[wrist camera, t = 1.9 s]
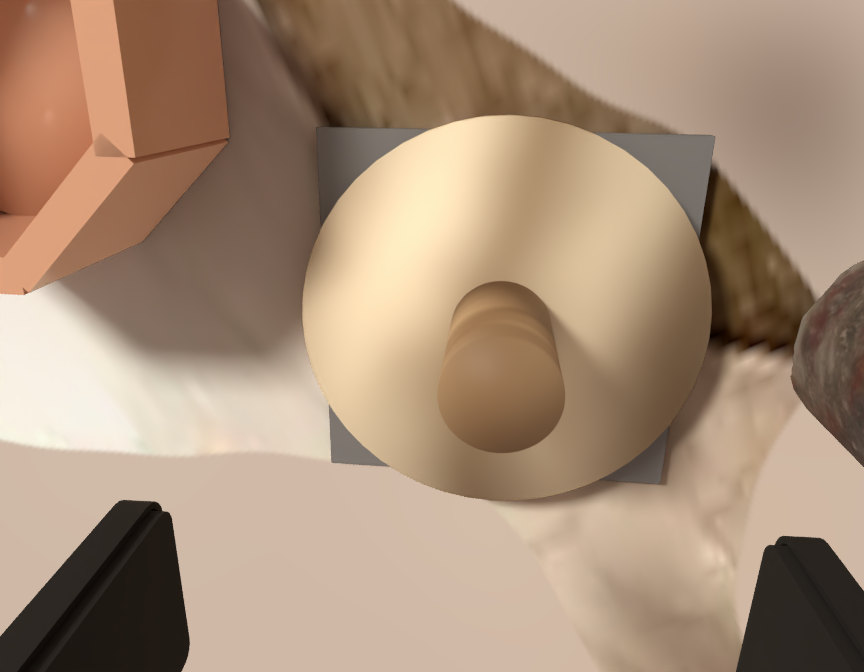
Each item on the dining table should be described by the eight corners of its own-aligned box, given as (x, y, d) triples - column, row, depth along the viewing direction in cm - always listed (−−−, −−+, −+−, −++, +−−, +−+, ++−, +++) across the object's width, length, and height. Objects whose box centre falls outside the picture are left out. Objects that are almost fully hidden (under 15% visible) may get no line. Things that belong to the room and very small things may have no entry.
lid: (735, 118, 20) (829, 134, 14) (672, 496, 24) (723, 620, 19) (299, 110, 21) (225, 121, 15) (319, 473, 25) (267, 584, 20)
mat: (710, 135, 20) (715, 136, 20) (656, 476, 25) (660, 484, 24) (320, 126, 21) (316, 127, 21) (334, 455, 26) (331, 462, 25)
